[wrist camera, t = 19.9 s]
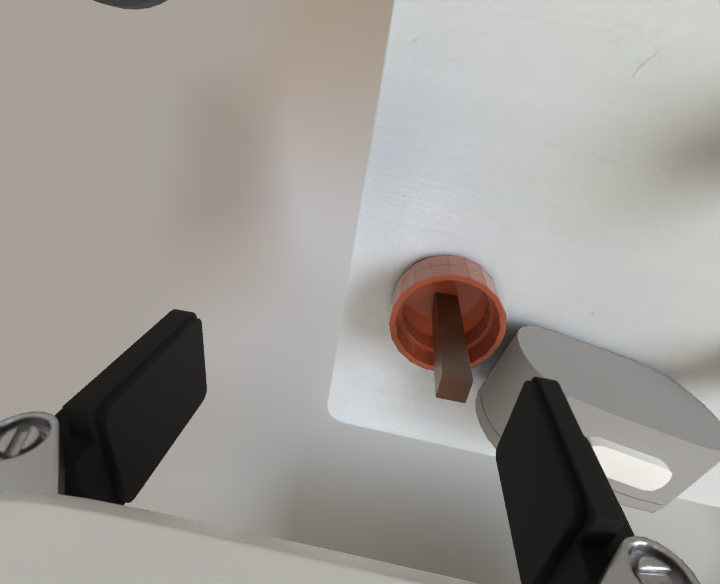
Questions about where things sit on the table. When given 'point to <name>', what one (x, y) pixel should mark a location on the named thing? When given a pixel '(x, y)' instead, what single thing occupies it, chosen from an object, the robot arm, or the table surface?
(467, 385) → the stick
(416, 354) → the bowl
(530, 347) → the alarm clock
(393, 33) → the table surface
